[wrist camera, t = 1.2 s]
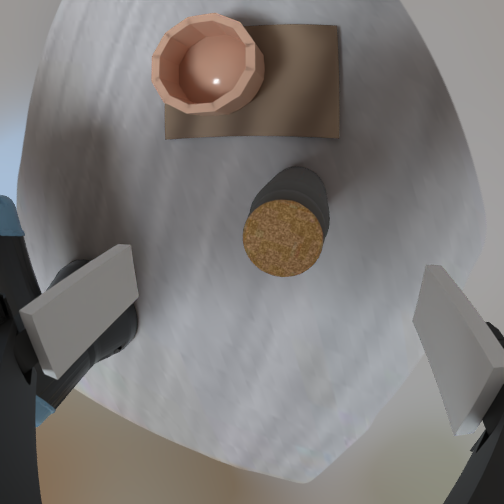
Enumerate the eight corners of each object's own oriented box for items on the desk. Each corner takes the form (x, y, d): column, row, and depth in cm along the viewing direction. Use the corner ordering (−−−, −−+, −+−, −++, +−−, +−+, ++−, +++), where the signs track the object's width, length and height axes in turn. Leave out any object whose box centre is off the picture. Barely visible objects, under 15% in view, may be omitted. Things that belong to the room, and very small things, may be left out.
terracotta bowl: (174, 118, 30) (151, 117, 26) (175, 37, 27) (153, 24, 22) (265, 114, 29) (255, 109, 24) (264, 26, 25) (254, 8, 20)
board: (169, 139, 32) (165, 139, 31) (169, 39, 28) (165, 37, 27) (338, 138, 29) (339, 138, 28) (336, 28, 25) (336, 25, 24)
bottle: (291, 155, 31) (270, 169, 17) (337, 189, 31) (353, 233, 17) (258, 199, 33) (214, 248, 19) (303, 232, 33) (291, 303, 19)
